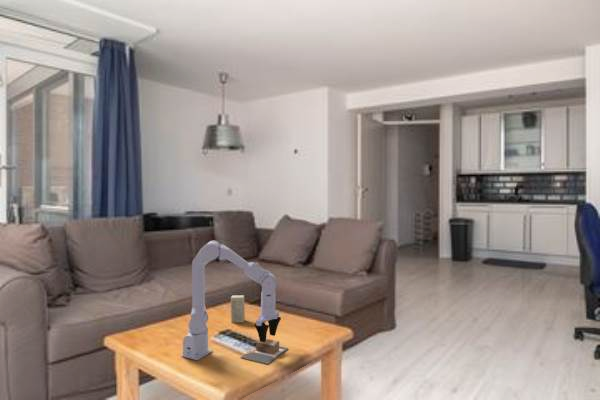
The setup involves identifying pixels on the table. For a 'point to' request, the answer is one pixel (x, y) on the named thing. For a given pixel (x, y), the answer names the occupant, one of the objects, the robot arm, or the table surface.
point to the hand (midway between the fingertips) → (267, 338)
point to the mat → (264, 356)
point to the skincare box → (237, 308)
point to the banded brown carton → (267, 346)
